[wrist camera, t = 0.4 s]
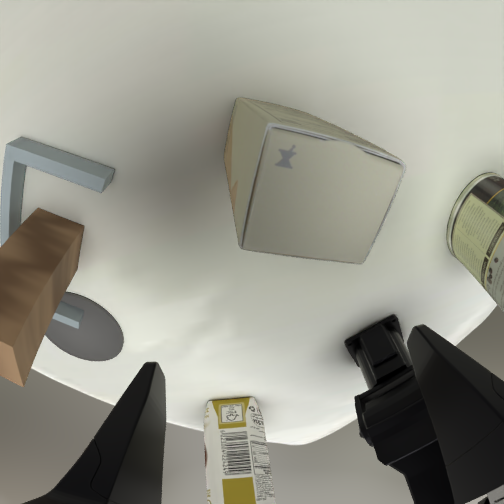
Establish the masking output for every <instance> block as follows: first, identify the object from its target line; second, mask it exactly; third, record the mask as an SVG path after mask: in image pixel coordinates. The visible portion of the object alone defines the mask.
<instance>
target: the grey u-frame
mask: <svg viewBox="0 0 504 504" xmlns="http://www.w3.org/2000/svg"><path fill="white" fill-rule="evenodd" d="M26 165H27V166H29V167H32V168H35V169H38V170H40V171H43V172H46V173H48V174H51V175H54V176H56V177H59V178H62V179H65V180H67V181H70V182H73V183H75V184H78V185H81V186H83V187H86V188H89V189H92V190H94V191H97V192H100V193H102V192H103V191H104V190H105V188H106V187H107V186H108V185H109V184H110V183H111V180H112V177H113V173H114V170H115V169H112V168H109V167H107V166H104V165H101V164H98V163H96V162H93V161H90V160H87V159H84V158H82V157H79V156H76V155H73V154H70V153H67V152H64V151H62V150H59V149H56V148H53V147H50V146H47V145H44V144H41V143H38V142H35V141H32V140H29V139H26V138H23V137H20V138H18V139H16V140H14V141H11V142H9V143H7V144H6V150H5V157H4V165H3V175H2V187H1V206H0V244H1V246H2V245H3V244H4V243H5V242H6V240H7V239H8V238H9V237H10V236H11V235H12V234H13V233H14V232H15V231H16V230H17V229H18V228H19V226H20V222H21V206H22V195H23V185H24V177H25V170H26ZM83 313H84V310H82V309H80V308H77V307H75V306H72V305H70V304H67V303H65V302H62V301H60V303H59V305H58V307H57V309H56V311H55V313H54V315H53V319H55V320H57V321H60V322H62V323H65V324H67V325H70V326H72V327H75V328H77V329H79V326H80V323H81V321H82V318H83Z"/></svg>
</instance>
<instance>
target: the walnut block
mask: <svg viewBox="0 0 504 504" xmlns="http://www.w3.org/2000/svg"><path fill="white" fill-rule="evenodd" d="M83 231H84V226H83V225H81V224H78V223H75V222H73V221H70V220H68V219H65V218H63V217H60V216H58V215H55V214H52V213H50V212H47V211H45V210H42V209H40V208H37V209H36V210H35V211H34V212H33V213H32V214H31V215H30V216H29V217H28V218H27V219H26V220H25V221H24V222H23V223H22V224H21V225H20V226H19V228H18V229H17V230H16V231H15V232H14V233H13V234H12V235H11V236H10V237H9V238H8V239H7V240H6V242H5V243H4V244H3V245H2V246H1V247H0V376H2V377H4V378H6V379H8V380H10V381H12V382H14V383H16V384H18V385H20V386H22V387H24V385H25V382H26V380H27V377H28V374H29V371H30V369H31V366H32V364H33V361H34V359H35V356H36V354H37V351H38V349H39V347H40V344H41V342H42V340H43V337H44V335H45V333H46V331H47V328H48V326H49V324H50V322H51V320H52V318H53V315H54V313H55V311H56V309H57V307H58V305H59V303H60V301H61V299H62V297H63V295H64V293H65V291H66V289H67V287H68V286H69V284H70V282H71V280H72V278H73V276H74V274H75V273H76V271H77V268H78V261H79V254H80V248H81V242H82V236H83Z"/></svg>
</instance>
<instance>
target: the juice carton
mask: <svg viewBox="0 0 504 504" xmlns="http://www.w3.org/2000/svg"><path fill="white" fill-rule="evenodd" d="M204 442H205V466H206V485H207V501H208V504H276V501H275V495H274V488H273V482H272V475H271V469H270V463H269V456H268V450H267V443H266V436H265V430H264V423H263V418H262V415H261V412H260V410H259V407H258V405H257V403H256V401H255V399H254V397H248V398H238V399H227V400H215V401H208V404H207V408H206V413H205V419H204Z"/></svg>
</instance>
